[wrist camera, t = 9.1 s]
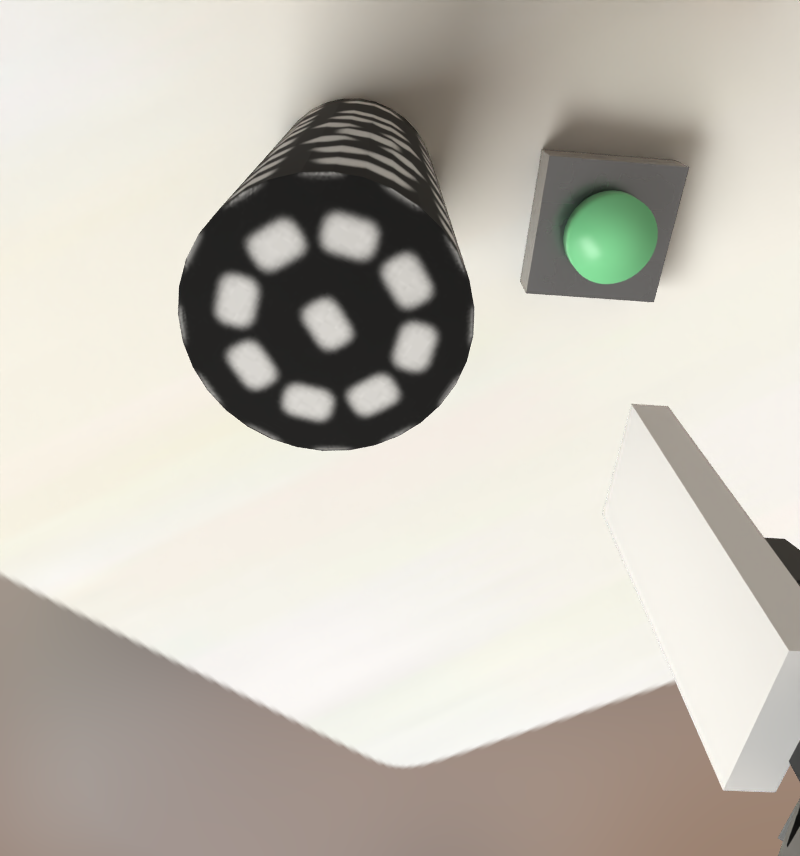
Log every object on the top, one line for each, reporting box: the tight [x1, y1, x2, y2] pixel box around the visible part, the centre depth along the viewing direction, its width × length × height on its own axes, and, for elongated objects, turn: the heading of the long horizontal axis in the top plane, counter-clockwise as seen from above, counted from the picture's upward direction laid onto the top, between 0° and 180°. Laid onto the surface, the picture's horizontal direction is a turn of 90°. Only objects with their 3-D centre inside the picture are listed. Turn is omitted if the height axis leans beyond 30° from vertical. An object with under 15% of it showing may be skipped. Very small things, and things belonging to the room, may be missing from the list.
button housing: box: [520, 150, 689, 302], centre depth 38 cm, size 7×7×2 cm
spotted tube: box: [178, 99, 474, 451], centre depth 29 cm, size 8×8×20 cm
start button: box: [563, 190, 658, 284], centre depth 37 cm, size 4×4×3 cm
